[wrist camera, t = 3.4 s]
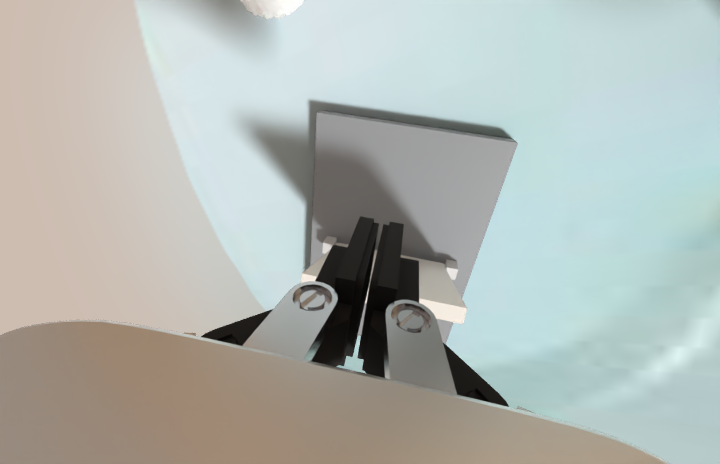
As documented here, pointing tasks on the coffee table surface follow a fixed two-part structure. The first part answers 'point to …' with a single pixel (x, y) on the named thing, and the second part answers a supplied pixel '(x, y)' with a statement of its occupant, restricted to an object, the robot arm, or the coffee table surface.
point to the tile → (432, 287)
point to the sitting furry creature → (271, 7)
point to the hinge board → (407, 188)
